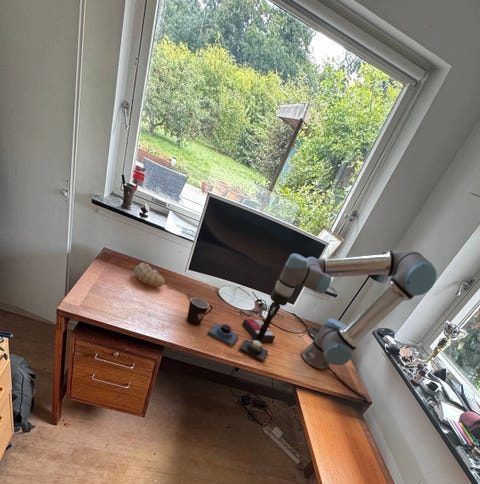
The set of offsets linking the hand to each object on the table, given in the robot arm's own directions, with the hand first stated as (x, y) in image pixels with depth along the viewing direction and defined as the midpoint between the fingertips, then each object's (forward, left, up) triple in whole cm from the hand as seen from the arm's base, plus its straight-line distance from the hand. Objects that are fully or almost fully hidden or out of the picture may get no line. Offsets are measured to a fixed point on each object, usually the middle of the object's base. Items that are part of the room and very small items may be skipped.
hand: (259, 339), depth 156 cm
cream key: (0, 0, -4) cm, 4 cm away
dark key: (+16, 0, -4) cm, 16 cm away
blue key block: (+16, 0, -7) cm, 17 cm away
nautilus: (+64, -15, -8) cm, 66 cm away
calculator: (+3, -19, -8) cm, 21 cm away
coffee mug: (+30, 0, -8) cm, 31 cm away
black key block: (0, 0, -7) cm, 7 cm away
